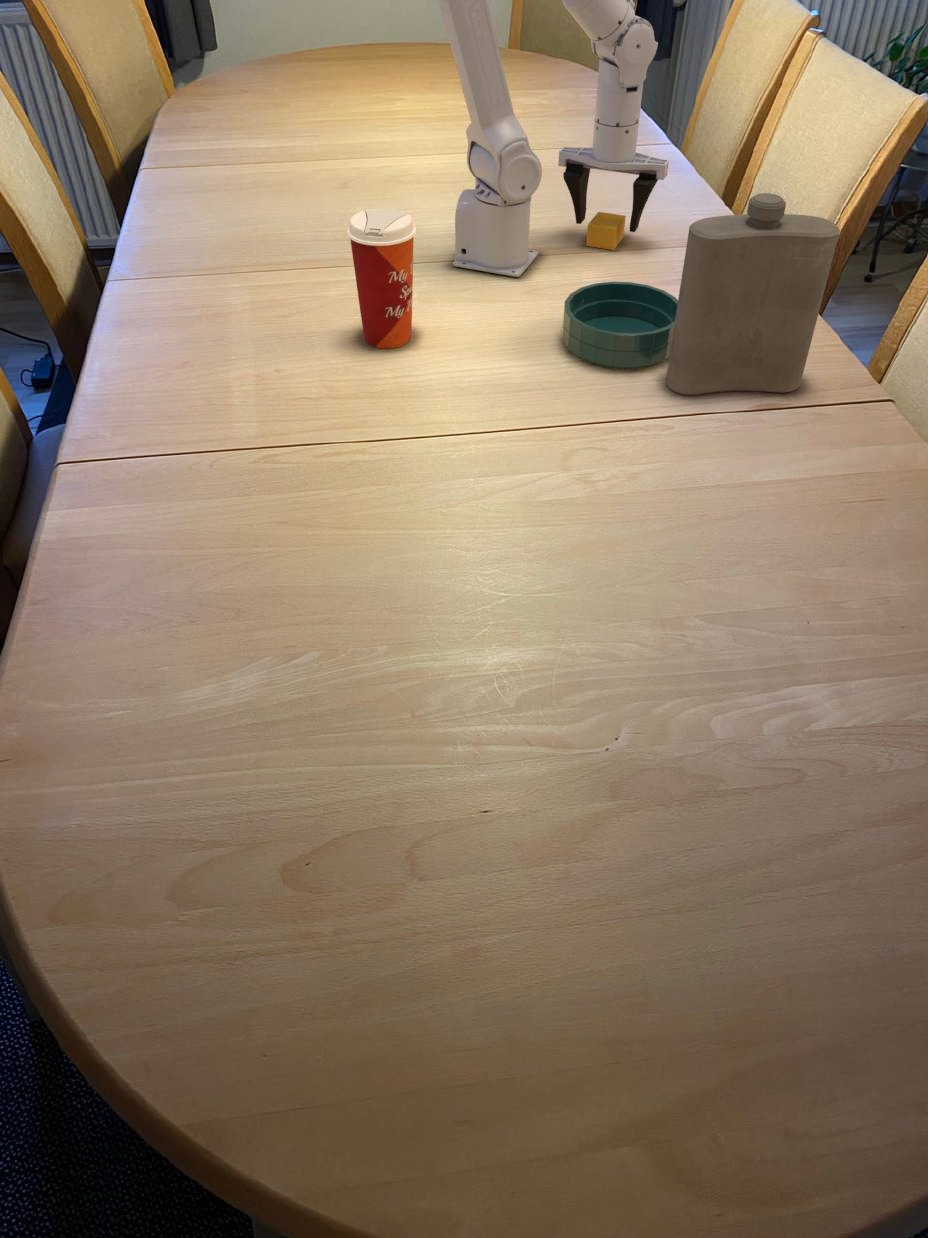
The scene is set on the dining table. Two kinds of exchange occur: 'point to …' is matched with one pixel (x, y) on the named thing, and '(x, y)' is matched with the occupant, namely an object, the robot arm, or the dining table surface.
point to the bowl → (619, 324)
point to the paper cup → (384, 274)
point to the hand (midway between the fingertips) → (606, 225)
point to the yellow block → (605, 230)
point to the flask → (749, 299)
